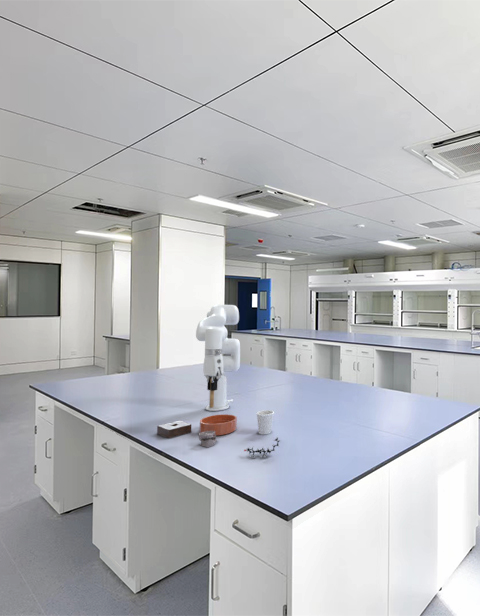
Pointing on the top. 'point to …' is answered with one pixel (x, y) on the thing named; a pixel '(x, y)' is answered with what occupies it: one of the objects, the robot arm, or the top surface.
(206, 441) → the dental mold
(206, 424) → the mixing bowl
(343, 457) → the top surface
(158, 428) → the holder
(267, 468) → the top surface
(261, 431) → the dixie cup
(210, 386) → the light wooden dowel
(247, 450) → the molecular model
